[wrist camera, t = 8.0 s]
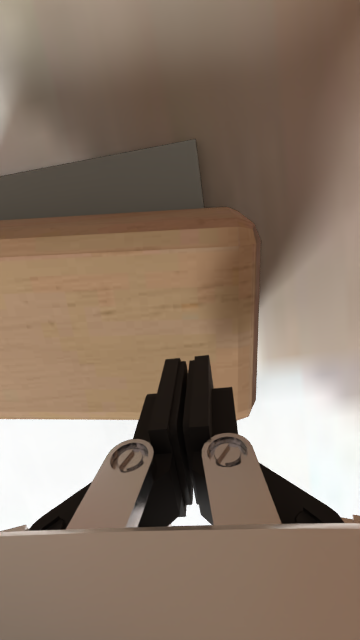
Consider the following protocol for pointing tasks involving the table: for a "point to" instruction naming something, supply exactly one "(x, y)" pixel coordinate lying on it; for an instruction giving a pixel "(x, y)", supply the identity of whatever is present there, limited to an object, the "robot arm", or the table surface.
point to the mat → (107, 185)
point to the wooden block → (124, 309)
